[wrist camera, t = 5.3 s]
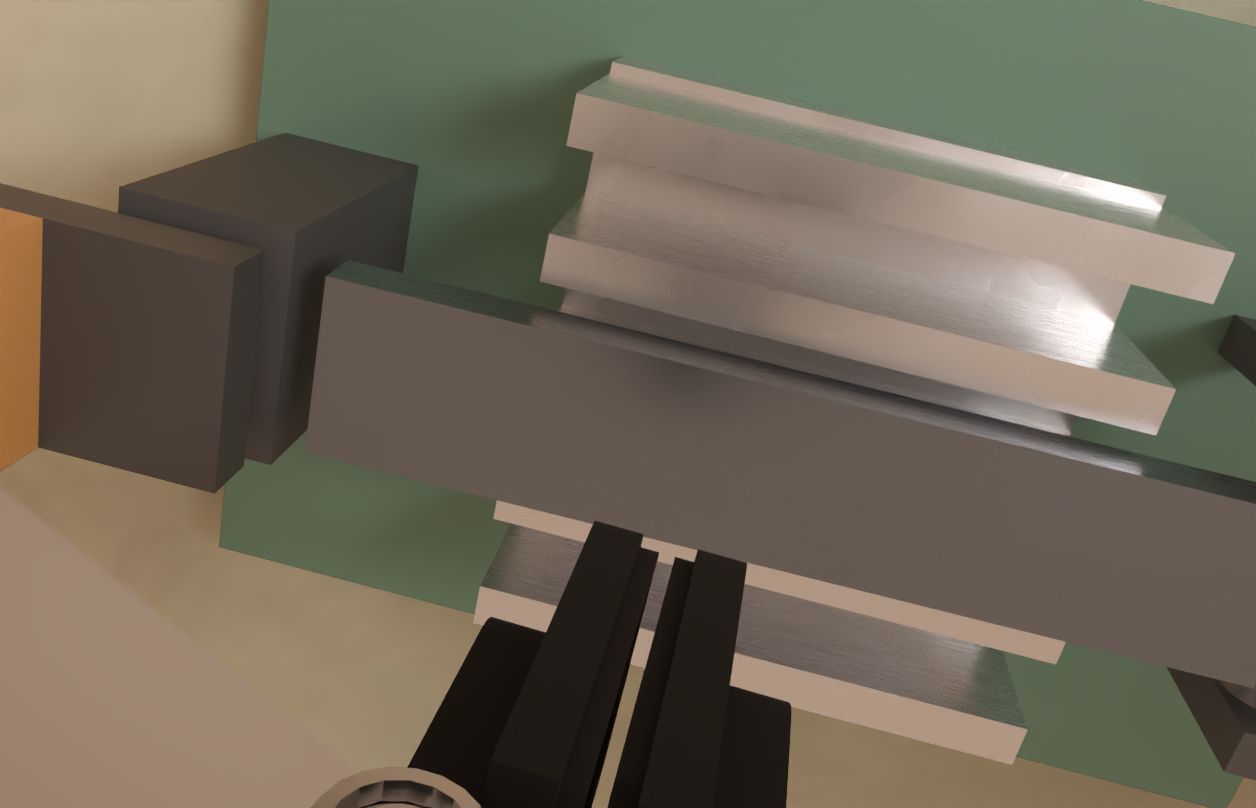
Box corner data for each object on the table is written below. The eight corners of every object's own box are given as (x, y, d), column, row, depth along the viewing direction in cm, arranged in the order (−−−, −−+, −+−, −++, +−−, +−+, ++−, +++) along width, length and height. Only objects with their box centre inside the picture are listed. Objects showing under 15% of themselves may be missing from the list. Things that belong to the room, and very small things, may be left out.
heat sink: (1141, 181, 21) (1241, 240, 17) (966, 624, 25) (1008, 773, 20) (623, 56, 22) (579, 79, 17) (528, 510, 25) (470, 632, 21)
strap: (1386, 491, 18) (1435, 532, 16) (1286, 678, 19) (1325, 730, 18) (355, 239, 18) (323, 260, 17) (328, 440, 19) (297, 474, 18)
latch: (265, 250, 17) (91, 343, 12) (243, 466, 18) (80, 616, 14) (-19, 178, 17) (-284, 247, 13) (-19, 397, 18) (-257, 526, 14)
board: (1548, 99, 21) (1944, 166, 14) (1202, 768, 27) (1354, 1057, 20) (318, -191, 22) (92, -268, 15) (246, 518, 28) (60, 708, 21)
